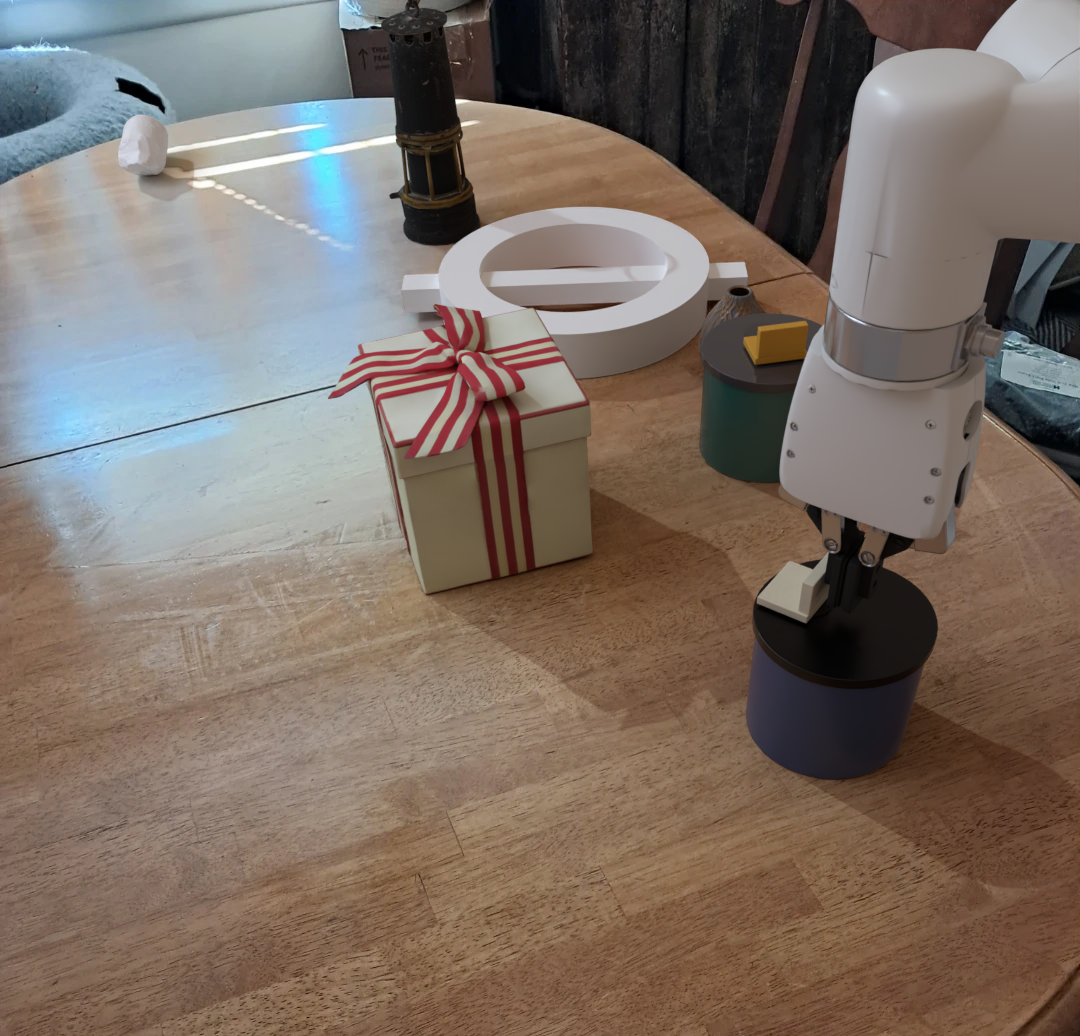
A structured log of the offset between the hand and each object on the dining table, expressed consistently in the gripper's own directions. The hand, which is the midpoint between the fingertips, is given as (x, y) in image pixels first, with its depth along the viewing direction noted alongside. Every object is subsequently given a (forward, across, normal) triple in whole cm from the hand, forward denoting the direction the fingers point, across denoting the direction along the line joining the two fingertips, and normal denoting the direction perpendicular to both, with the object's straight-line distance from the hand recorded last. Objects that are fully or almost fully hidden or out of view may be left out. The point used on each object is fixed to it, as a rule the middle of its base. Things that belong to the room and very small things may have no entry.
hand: (848, 596), depth 73 cm
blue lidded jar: (+12, 0, 0) cm, 12 cm away
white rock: (+12, +119, -41) cm, 126 cm away
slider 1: (+2, +19, -27) cm, 33 cm away
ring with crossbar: (+12, +49, -39) cm, 64 cm away
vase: (+12, +28, -36) cm, 47 cm away
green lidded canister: (+12, +20, -27) cm, 36 cm away
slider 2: (+2, +3, 0) cm, 4 cm away
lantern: (+12, +74, -48) cm, 88 cm away
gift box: (+12, +34, -3) cm, 36 cm away
